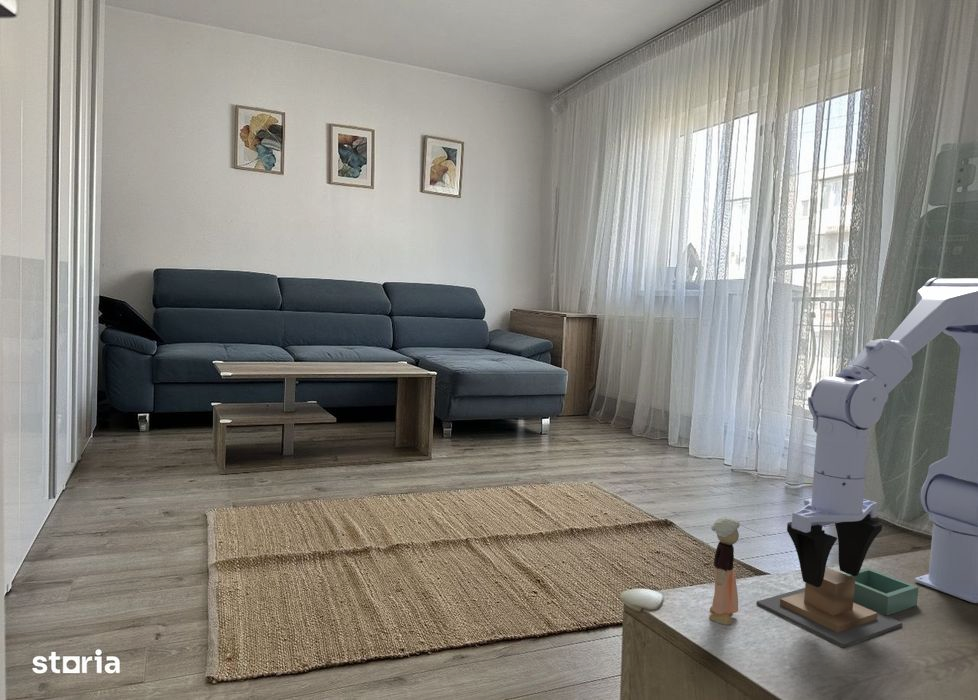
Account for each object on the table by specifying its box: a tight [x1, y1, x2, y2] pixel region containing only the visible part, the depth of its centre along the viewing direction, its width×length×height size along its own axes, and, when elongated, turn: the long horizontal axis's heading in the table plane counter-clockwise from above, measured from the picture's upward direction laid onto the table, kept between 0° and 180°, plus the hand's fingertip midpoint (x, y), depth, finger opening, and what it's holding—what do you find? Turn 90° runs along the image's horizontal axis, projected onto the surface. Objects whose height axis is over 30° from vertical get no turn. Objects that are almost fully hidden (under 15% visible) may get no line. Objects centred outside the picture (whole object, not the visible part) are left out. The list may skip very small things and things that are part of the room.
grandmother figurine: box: [708, 515, 741, 626], centre depth 84 cm, size 8×4×13 cm, turn 168°
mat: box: [755, 587, 903, 648], centre depth 86 cm, size 12×12×1 cm
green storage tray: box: [844, 567, 919, 616], centre depth 91 cm, size 7×7×2 cm
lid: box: [780, 566, 879, 632], centre depth 86 cm, size 8×8×5 cm
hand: (830, 578), depth 86 cm, fingers open, 7 cm apart
